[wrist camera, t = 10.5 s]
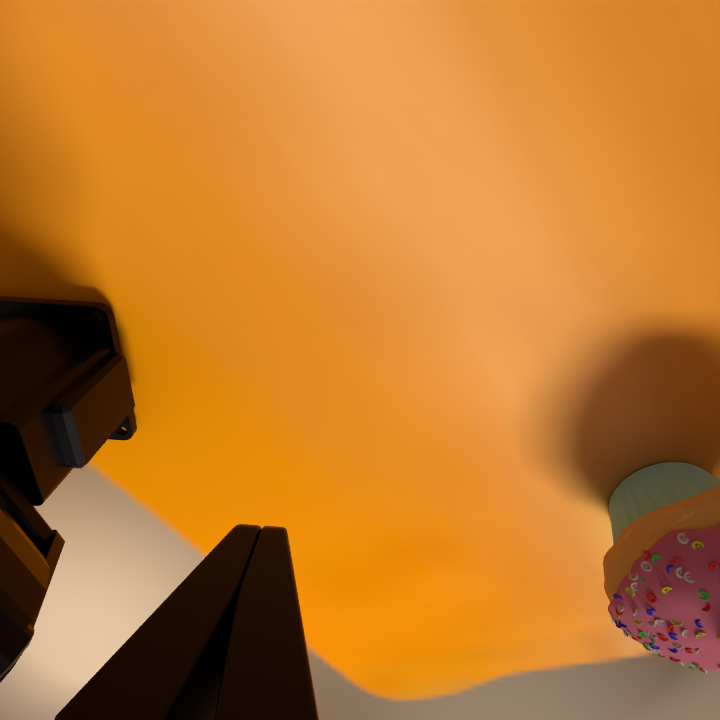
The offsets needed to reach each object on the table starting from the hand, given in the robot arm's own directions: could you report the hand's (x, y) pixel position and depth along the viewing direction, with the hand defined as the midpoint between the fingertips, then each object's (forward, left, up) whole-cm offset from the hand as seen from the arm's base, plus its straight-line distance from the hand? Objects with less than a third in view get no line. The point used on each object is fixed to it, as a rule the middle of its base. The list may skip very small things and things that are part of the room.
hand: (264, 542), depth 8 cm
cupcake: (+16, -9, -12) cm, 22 cm away
